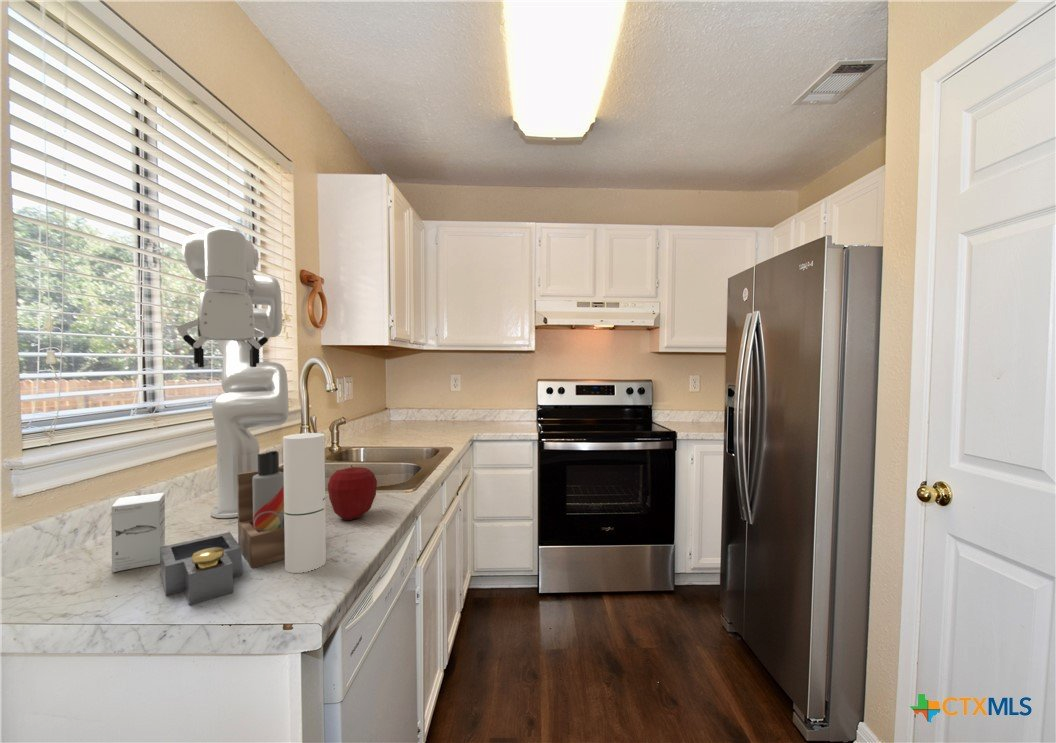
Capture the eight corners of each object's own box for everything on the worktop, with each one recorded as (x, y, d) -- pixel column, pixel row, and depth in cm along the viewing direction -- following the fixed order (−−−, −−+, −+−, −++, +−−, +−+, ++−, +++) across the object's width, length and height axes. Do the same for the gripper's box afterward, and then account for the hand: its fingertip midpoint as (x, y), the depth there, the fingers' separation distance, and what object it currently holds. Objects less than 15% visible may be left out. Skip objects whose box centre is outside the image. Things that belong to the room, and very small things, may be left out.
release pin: (191, 586, 78) (190, 552, 77) (221, 577, 81) (221, 545, 80) (194, 595, 74) (193, 560, 74) (226, 586, 77) (225, 552, 77)
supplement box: (110, 574, 85) (109, 506, 84) (119, 559, 91) (118, 496, 91) (161, 564, 88) (159, 500, 88) (166, 551, 95) (165, 491, 95)
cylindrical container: (330, 555, 92) (328, 432, 92) (320, 571, 85) (318, 438, 85) (292, 558, 91) (290, 433, 90) (279, 574, 84) (277, 439, 83)
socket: (160, 573, 84) (159, 547, 84) (230, 556, 92) (229, 532, 92) (169, 611, 71) (169, 579, 71) (249, 587, 79) (249, 558, 79)
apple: (366, 525, 109) (366, 470, 109) (318, 525, 109) (318, 470, 109) (383, 509, 121) (383, 459, 121) (340, 509, 121) (339, 460, 121)
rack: (238, 549, 96) (237, 473, 95) (295, 535, 103) (294, 465, 103) (251, 568, 87) (250, 484, 86) (312, 551, 94) (311, 474, 94)
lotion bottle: (270, 554, 90) (269, 454, 90) (246, 552, 92) (245, 453, 91) (291, 543, 96) (290, 448, 96) (268, 541, 97) (267, 448, 97)
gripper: (266, 294, 107) (268, 366, 107) (174, 285, 95) (175, 367, 95) (275, 290, 101) (276, 366, 102) (178, 280, 90) (179, 367, 90)
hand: (227, 367), depth 98 cm, fingers open, 9 cm apart
